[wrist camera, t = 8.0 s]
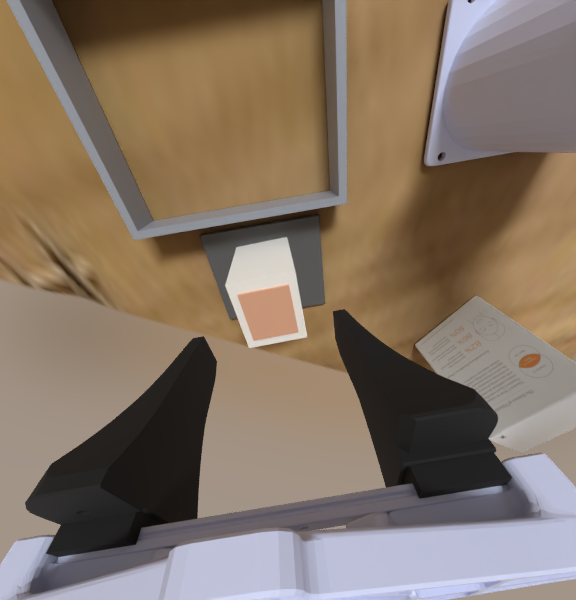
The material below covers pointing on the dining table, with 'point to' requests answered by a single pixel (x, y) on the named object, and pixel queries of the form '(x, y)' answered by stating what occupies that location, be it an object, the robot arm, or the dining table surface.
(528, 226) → the dining table surface
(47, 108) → the dining table surface
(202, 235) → the mat
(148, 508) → the robot arm
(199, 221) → the grey rectangular frame
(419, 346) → the small box
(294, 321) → the block
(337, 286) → the dining table surface
